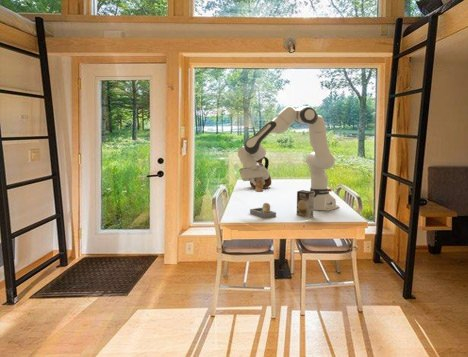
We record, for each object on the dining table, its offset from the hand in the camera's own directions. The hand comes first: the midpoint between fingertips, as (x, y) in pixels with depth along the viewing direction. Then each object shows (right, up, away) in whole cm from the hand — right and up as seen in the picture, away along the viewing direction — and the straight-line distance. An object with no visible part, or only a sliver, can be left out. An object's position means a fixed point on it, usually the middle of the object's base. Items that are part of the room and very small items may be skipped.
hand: (259, 184), depth 230 cm
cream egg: (+4, -20, -3) cm, 20 cm away
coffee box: (+28, -20, -1) cm, 35 cm away
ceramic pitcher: (+8, -5, +107) cm, 108 cm away
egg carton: (+2, -20, 0) cm, 20 cm away
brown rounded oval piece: (0, -4, +1) cm, 5 cm away
